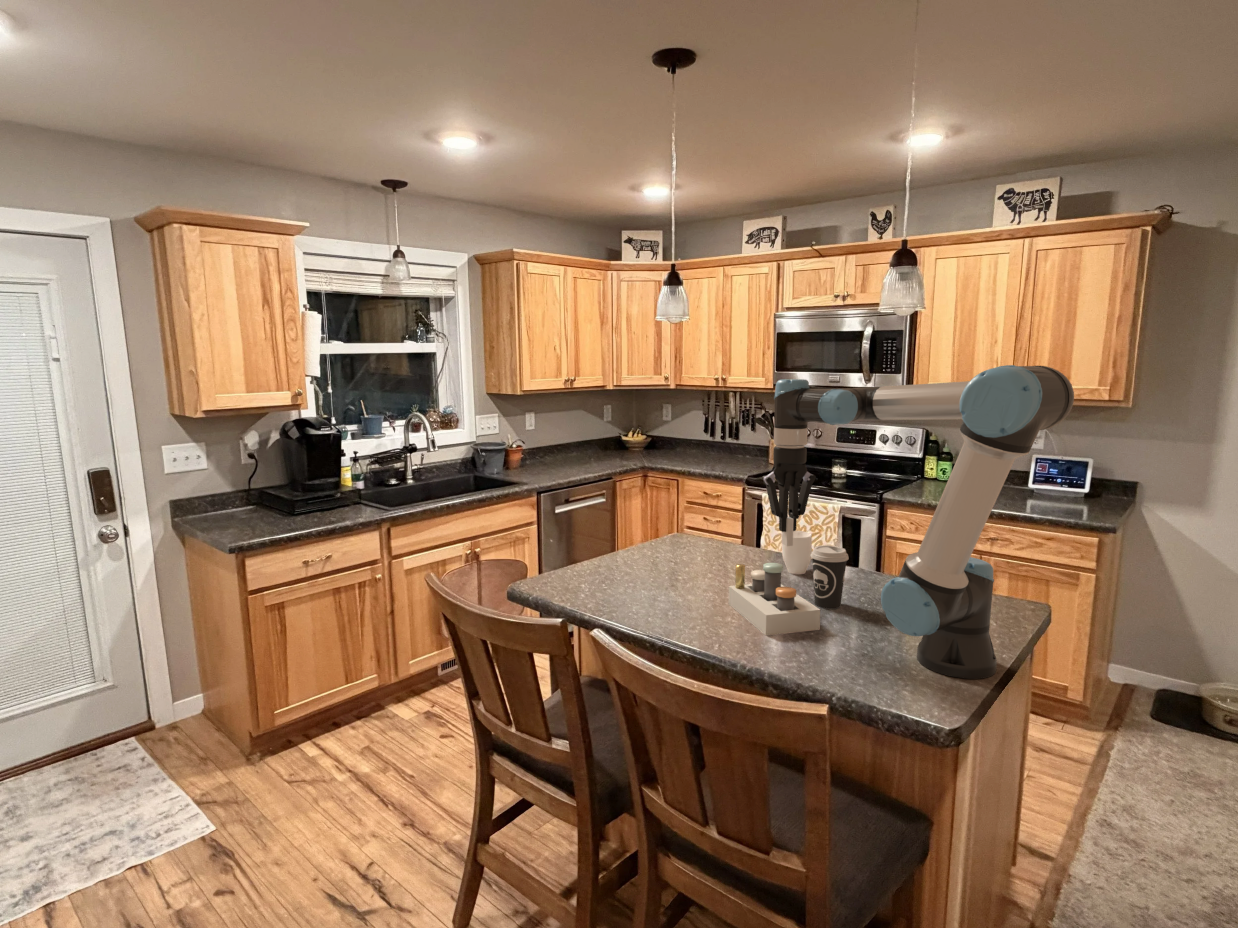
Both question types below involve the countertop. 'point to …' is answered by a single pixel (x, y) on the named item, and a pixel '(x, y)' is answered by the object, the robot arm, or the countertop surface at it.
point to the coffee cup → (828, 575)
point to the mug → (798, 552)
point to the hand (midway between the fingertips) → (787, 544)
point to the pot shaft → (740, 576)
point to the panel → (774, 612)
